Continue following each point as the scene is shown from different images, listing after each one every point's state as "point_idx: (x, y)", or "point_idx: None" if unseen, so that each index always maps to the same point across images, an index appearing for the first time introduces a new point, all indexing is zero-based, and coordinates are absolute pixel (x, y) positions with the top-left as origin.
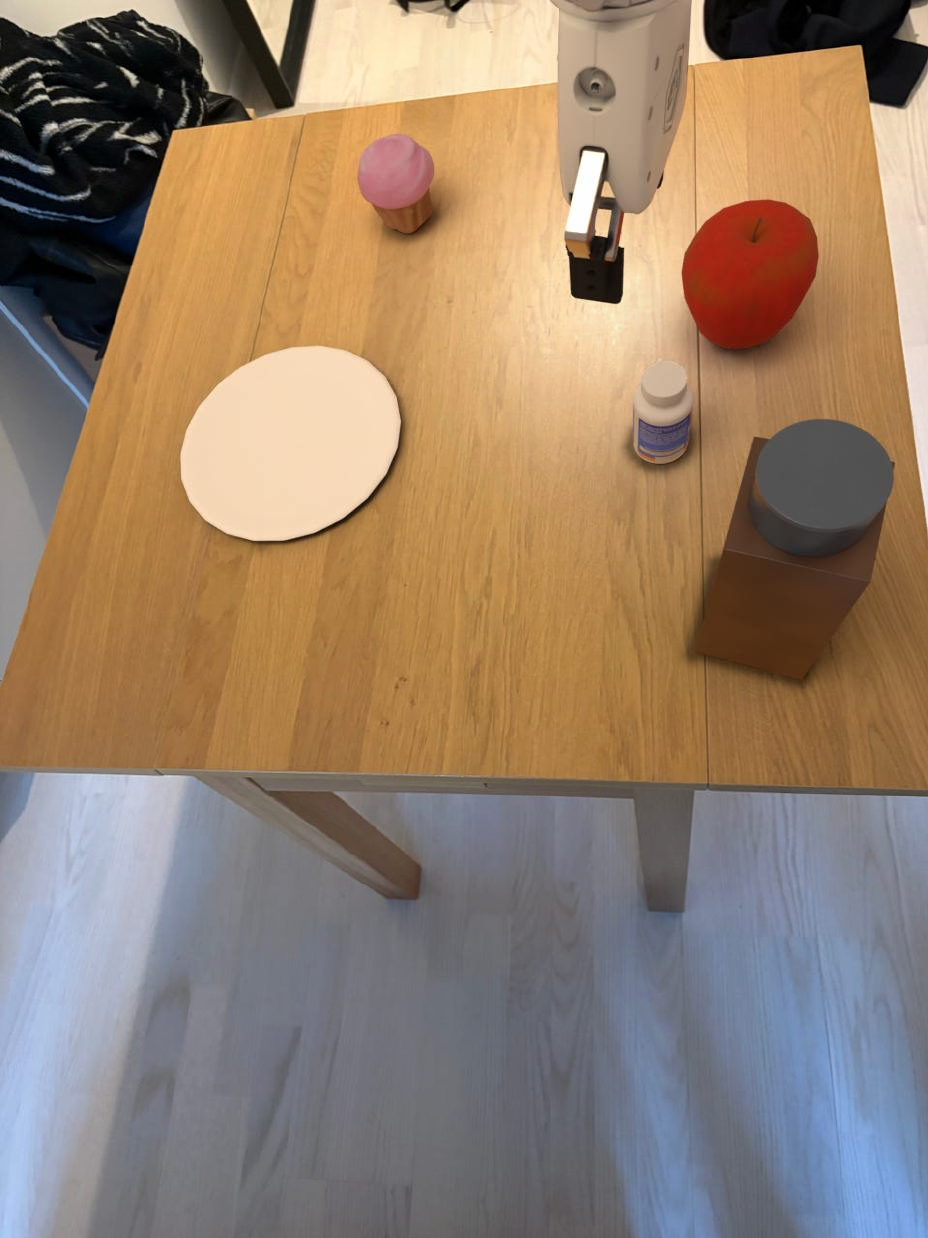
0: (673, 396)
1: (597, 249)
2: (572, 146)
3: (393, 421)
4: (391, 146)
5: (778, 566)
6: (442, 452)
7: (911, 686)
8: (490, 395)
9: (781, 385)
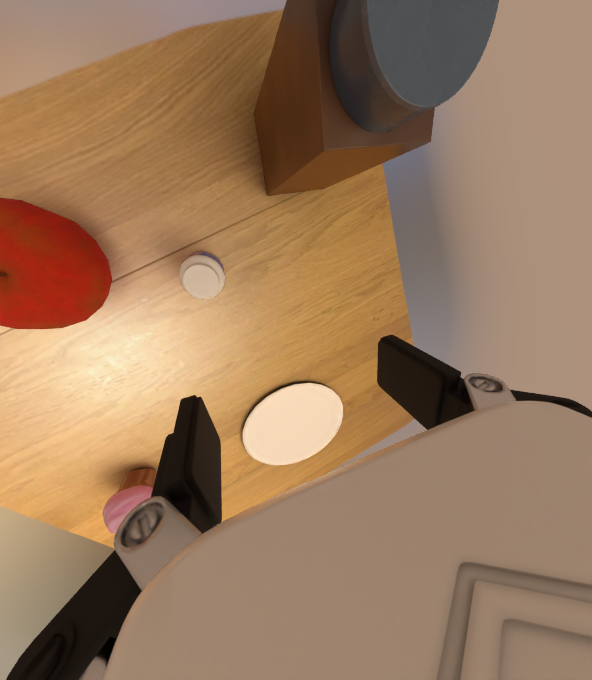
0: (212, 269)
1: (588, 410)
2: None
3: (269, 399)
4: None
5: None
6: (270, 370)
7: None
8: (227, 371)
9: (103, 204)
